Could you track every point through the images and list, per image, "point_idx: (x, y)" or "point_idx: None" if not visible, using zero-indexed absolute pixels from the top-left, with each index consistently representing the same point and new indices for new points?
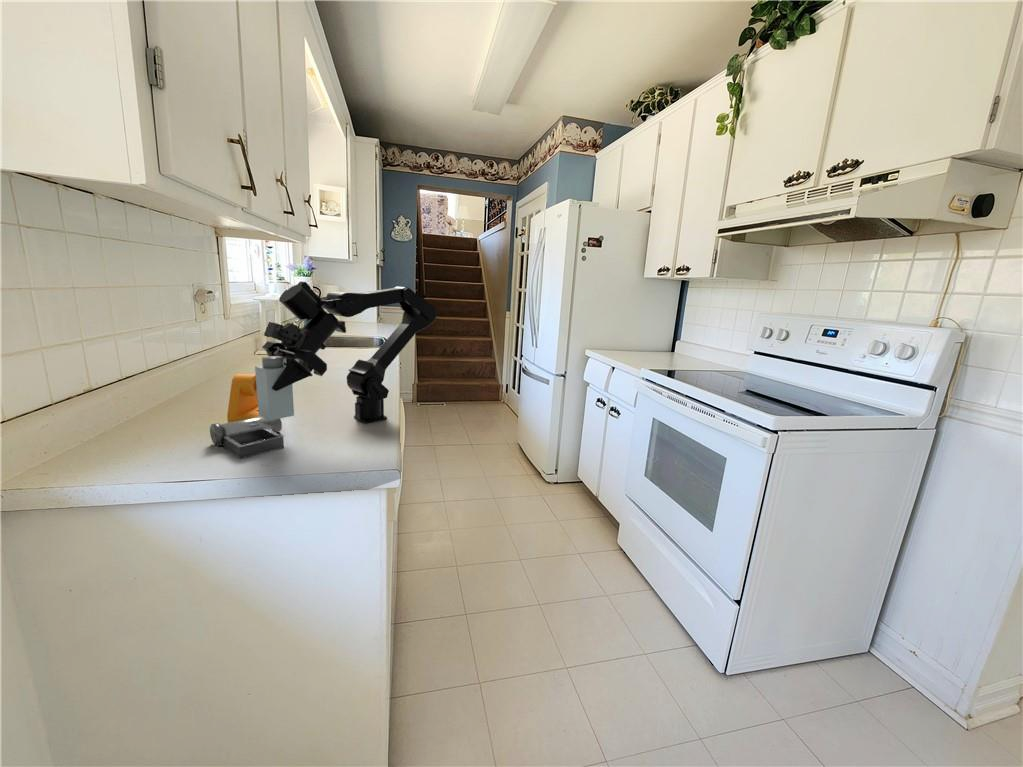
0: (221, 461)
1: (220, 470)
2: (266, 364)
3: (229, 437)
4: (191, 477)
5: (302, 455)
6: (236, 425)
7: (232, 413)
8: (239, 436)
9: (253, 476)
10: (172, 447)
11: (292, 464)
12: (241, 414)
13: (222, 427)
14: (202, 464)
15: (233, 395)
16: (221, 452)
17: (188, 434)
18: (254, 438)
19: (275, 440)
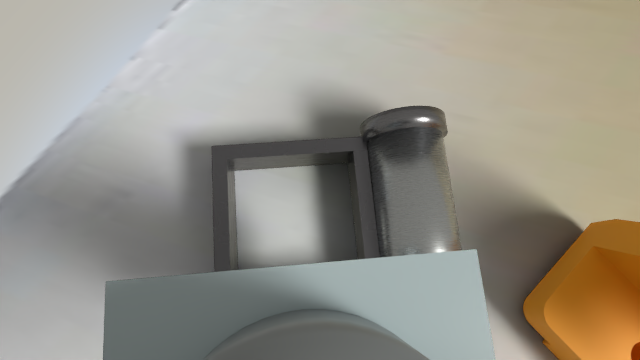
0: (240, 114)
1: (172, 93)
2: (215, 349)
3: (353, 157)
4: (178, 31)
5: (100, 328)
6: (394, 184)
7: (617, 236)
8: (355, 190)
9: (56, 145)
10: (450, 47)
11: (50, 267)
12: (616, 272)
13: (393, 135)
14: (253, 72)
15: None
16: (318, 134)
17: (554, 105)
18: (358, 244)
19: None
